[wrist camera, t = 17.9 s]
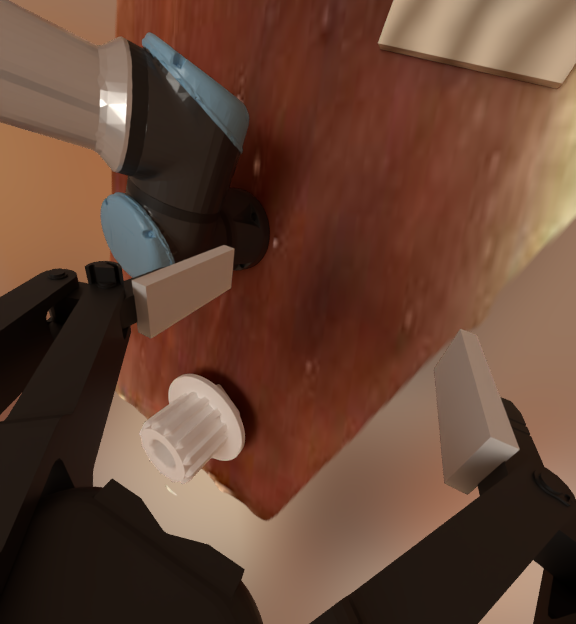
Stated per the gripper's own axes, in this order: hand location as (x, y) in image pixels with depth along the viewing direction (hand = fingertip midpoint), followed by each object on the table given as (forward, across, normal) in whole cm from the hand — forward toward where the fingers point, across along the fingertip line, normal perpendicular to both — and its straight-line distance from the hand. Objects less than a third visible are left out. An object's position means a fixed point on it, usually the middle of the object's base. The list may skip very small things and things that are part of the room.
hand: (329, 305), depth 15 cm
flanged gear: (+29, -24, -56) cm, 68 cm away
